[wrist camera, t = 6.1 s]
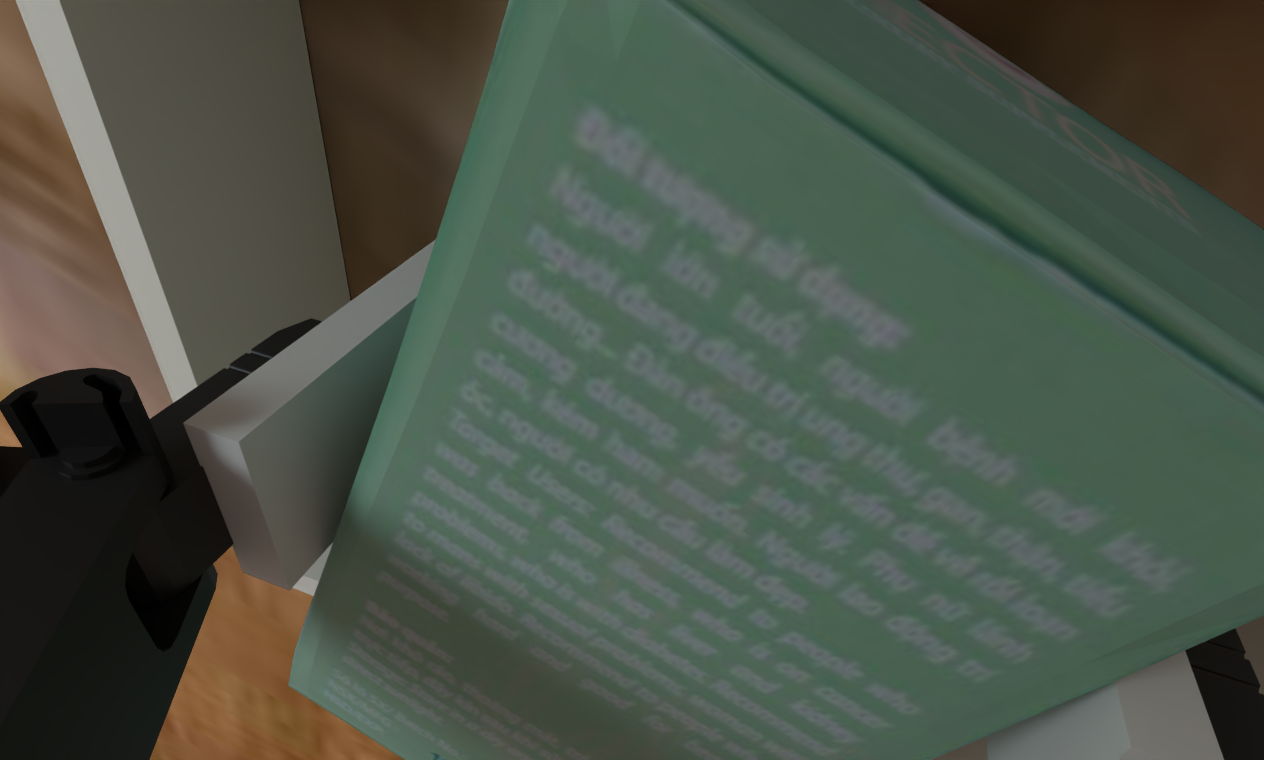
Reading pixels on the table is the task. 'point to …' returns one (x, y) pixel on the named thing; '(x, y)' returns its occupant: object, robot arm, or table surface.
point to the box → (792, 404)
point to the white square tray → (220, 180)
